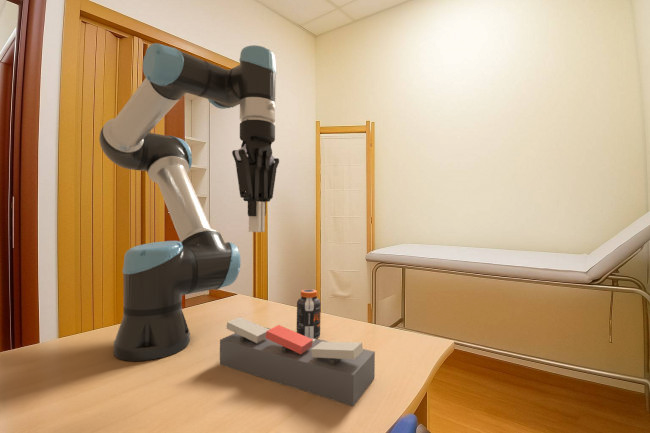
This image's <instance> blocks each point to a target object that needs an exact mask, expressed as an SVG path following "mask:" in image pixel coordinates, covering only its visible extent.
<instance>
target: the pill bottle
mask: <svg viewBox="0 0 650 433" xmlns="http://www.w3.org/2000/svg"><path fill="white" fill-rule="evenodd" d="M321 302H322V301H321V300H320V299H319V298H318V291H317V290H316V289H311V288H309V289H308V288H307V289H306V288H305V289H302V290H300V297H299V299H298V300H297V301H296V333H299V334H301V335H303V336H306V337H311V338H315V339H319V337H320V336H321V318H322V316H321V310H322V308H321V307H322V304H321Z"/></svg>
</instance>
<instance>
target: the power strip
mask: <svg viewBox="0 0 650 433" xmlns="http://www.w3.org/2000/svg"><path fill="white" fill-rule="evenodd" d="M263 327H264V328H267V329H269V330H270V329H271V328H269V327H265V326H263ZM308 338H310V339H313V342H312V347H310V348H309V349H308V350H306V351H305V352H303V353H302V354H299V353H297V352H295V351H293V350H290V349H288V348H286V347H284V346H282V345H280V344H277V343H275V342H273V341H271V340H269V339H267V338H265V339H264V340H262V341H260V342H258V343H255V342H253V341H251V340H249V339H247V338H245V337H243V336H241V335H239V334H237V333H234V332H233V333H232V334H229V335H226V336H225V337H223V338H220V339H219V365H220V366H223V367H225V368H226V367H227V368H229V369H232V370H236V371H240V372H241V373H242V372H243V373H245V374H249V375H251V376H255V377H258V378H262V379H265V380H269V381H270V382H274V383H277V384H280V385H284V386H286V387H291V388H292V389H296V390H300V391H303V392H305V393H309V394H312V395H315V396H319V397H322V398H324V399H328V400H330V401H331V400H332V401H334V402H338V403H342V404H344V405H347V406H350V407H354V406H355V405H356V404H357V402H358V401H359V400H360V398H361V397H362V396H363V394H364V393H365V392H366V390H367V389H368V388H369V386H370V385H371V384H372V382H373V381H374V380H375V365H376V364H375V362H376V360H375V358H376V356H375V355H376V351H373V350H370V349H369V350H368V349H365V348H363V351H362V352H361V353H360V354H359V355H358V356H357V357H356V358H355V359H338V358H318V357H312V351H311V349H312V348H313V347H315V346H316V345H318V344H319V343H320V342H330V341H328V340H323V339H319V338H311V337H308Z"/></svg>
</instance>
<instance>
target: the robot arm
mask: <svg viewBox="0 0 650 433" xmlns="http://www.w3.org/2000/svg"><path fill="white" fill-rule="evenodd" d="M142 70H143V75H144V77H145V78H144V80H142V82H141V83H140V85H139V86H138V87H137V89H136V90H135V91H134V93H133V94H132V95H131V97H130V98H129V99H128V101H127V102H126V103H125V105H124V106H123V107H122V109H121V110H120V111H119V112H118V114H117V115H116V117H114V118H111V119H109V120H107V121H106V122H105V123H104V125H103V126H102V127H101V129H100V132H99V136H98V137H99V139H98V140H99V145H100V148H101V150H102V151H103V153H104V155H105V156H106V157H107V159H109V160H110V161H111V162H112V163H114V164H115V165H117V166H119V167H120V168H123V169H126V170H132V171H133V170H134V171H142V172H147V175H148V178H149V179H150V180H151V181H152V182H153V183H156V184H157V185H158V188H159V190H160V193H161V196H162V199H163V201H164V203H165V205H166V208H167V211H168V213H169V216H170V219H171V222H172V223H173V226H174V229H175V231H176V234H177V236H178V238H179V240H165V241H155V242H150V243H143V244H139V245H135V246H133V247H131V248H129V249H128V250H127V251H125V254H124V257H123V258H124V259H123V267H122V274H123V277H122V278H123V296H122V297H123V305H122V306H123V311H122V312H123V313H122V314H123V316H122V319H121V322H120V325H119V328H118V330H117V333H116V336H115V339H114V342H113V356H114V357H115V358H117V359H119V360H122V361H129V362H140V361H141V362H142V361H151V360H157V359H161V358H164V357H165V358H166V357H169V356H171V355H173V354H177V353H179V352H180V351H182V350H184V349H185V348H187V346H189V344H190V342H191V341H190V339H191V336H190V335H191V334H190V329H189V326H188V323H187V320H186V318H185V315H184V311H183V307H182V306H183V305H182V302H183V300H182V299H183V296H185V295H190V294H195V293H196V294H197V293H202V292H206V291H207V292H208V291H211V290H219V289H221V288H226V287H229V286H231V285H232V284H234V282H236V280H237V278H238V276H239V273H240V271H241V264H242V262H241V253H240V250H239V247H238V246H237V245H236V244H235V243H232V242H230V241H227V242H225V241H224V238H223V237H222V234H221V233H220V231H218V230H215V229H213V228H212V226H211V223H210V222H209V219H208V217H207V215H206V213H205V210H204V209H203V206H202V204H201V202H200V199H199V197H198V196H197V193H196V191H195V189H194V187H193V184H192V181H191V180H190V177H189V175H188V174H189V172H190V170H191V168H192V164H193V157H192V150H191V148H190V145H189V144H188V143H187V142H186V141H185V140H184V139H183V138H179V137H177V136H174V135H165V134H161V133H154V132H151V131H152V130H153V129H154V128H155V127H156V126H157V124H158V123H159V122H160V121H161V120H162V119H163V118H164V117H165V116H166V115H167V114H168V113H169V111H171V110H172V109H173V107H174V106H175V105H176V104H177V103H178V102H179V101H180V100H181V99H182V98H184V97H183V96H185V95H186V94H190V95H193V96H195V97H196V96H197V97H199V98H203V99H206V100H208V102H209V103H210V104H212V105H213V106H214V107H216V109H217V108H218V109H221V110H223V109H224V110H225V109H230V108H234V107H236V106H239V120H240V121H241V122H240V123H239V139H240V141H241V142H242V143H241V145H240V148H239V149H234V150H233V149H232V151H231V154H232V155H231V156H232V157H233V159H234V161H235V168H236V169H235V170H236V177H237V181H238V182H237V183H238V191H239V197H240V198H242V199H243V201H244V202H247V216H248V232H250V233H251V232H252V233H262V232H263V233H265V232H266V226H265V225H266V213H267V203H268V202H270V201H271V200H272V199H273V196H274V189H275V185H276V184H275V182H276V175H277V170H278V169H277V168H278V166H279V163H280V159H279V158H275V157H274V155H273V149H272V144H273V143H274V142H275V140H276V125H275V124H274V123H275V122H276V85H277V84H276V79H277V77H276V76H277V68H276V57H275V54H274V52H272V50H270V49H268V48H266V47H265V46H262V45H254V44H253V45H247V46H245V47H242V49H241V51H240V55H239V64H238V65H236V66H235V67H231V68H230V69H226V68H225V67H222V66H219V65H217V64H214V63H211V62H209V61H206V60H204V59H201V58H199V57H196V56H194V55H191V54H189V53H186V52H184V51H181V50H179V49H178V48H176V47H172V46H168V45H164V44H161V43H157V42H156V43H155V42H154V43H151V44H150V45H149V46H148V47H147V49H146V50H145V55H144V56H143V60H142Z"/></svg>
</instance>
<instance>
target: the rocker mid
mask: <svg viewBox="0 0 650 433" xmlns="http://www.w3.org/2000/svg"><path fill="white" fill-rule="evenodd" d="M266 338H267V339H269V340H271V341H273V342H275V343H277V344H280V345H282V346H284V347H286V348H288V349H290V350H293V351H295V352H297V353H299V354H302V353H303V352H305V351H306V350H308V349H309V348H310V347H312V342H313V339H310V338H308V337H306V336H303V335H301V334H299V333H297V331H294V330H291V329H289V328H287V327H284V326H282V325H280V324H278V325H276V326H274V327H272V328H270V330H268V331H267V332H266Z"/></svg>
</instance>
